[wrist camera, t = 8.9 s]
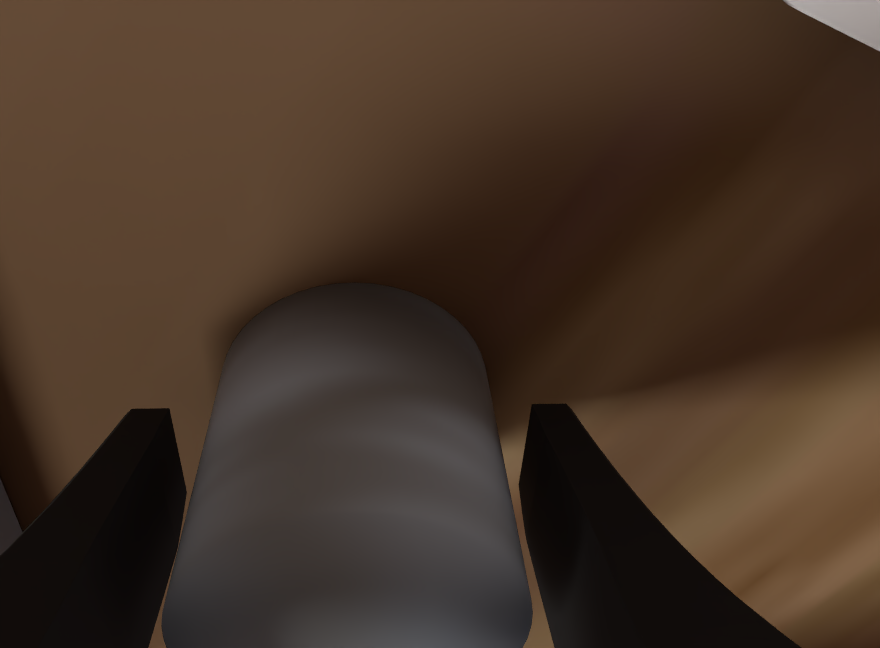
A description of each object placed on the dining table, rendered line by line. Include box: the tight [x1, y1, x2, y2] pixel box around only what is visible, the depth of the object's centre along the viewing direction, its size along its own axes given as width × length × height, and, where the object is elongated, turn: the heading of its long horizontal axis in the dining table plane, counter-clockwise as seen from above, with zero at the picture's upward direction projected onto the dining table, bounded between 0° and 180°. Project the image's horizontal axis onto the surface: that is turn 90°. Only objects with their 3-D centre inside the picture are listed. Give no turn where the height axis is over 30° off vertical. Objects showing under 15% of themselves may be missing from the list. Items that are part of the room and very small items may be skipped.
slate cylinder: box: [162, 283, 533, 648], centre depth 12 cm, size 5×5×5 cm
